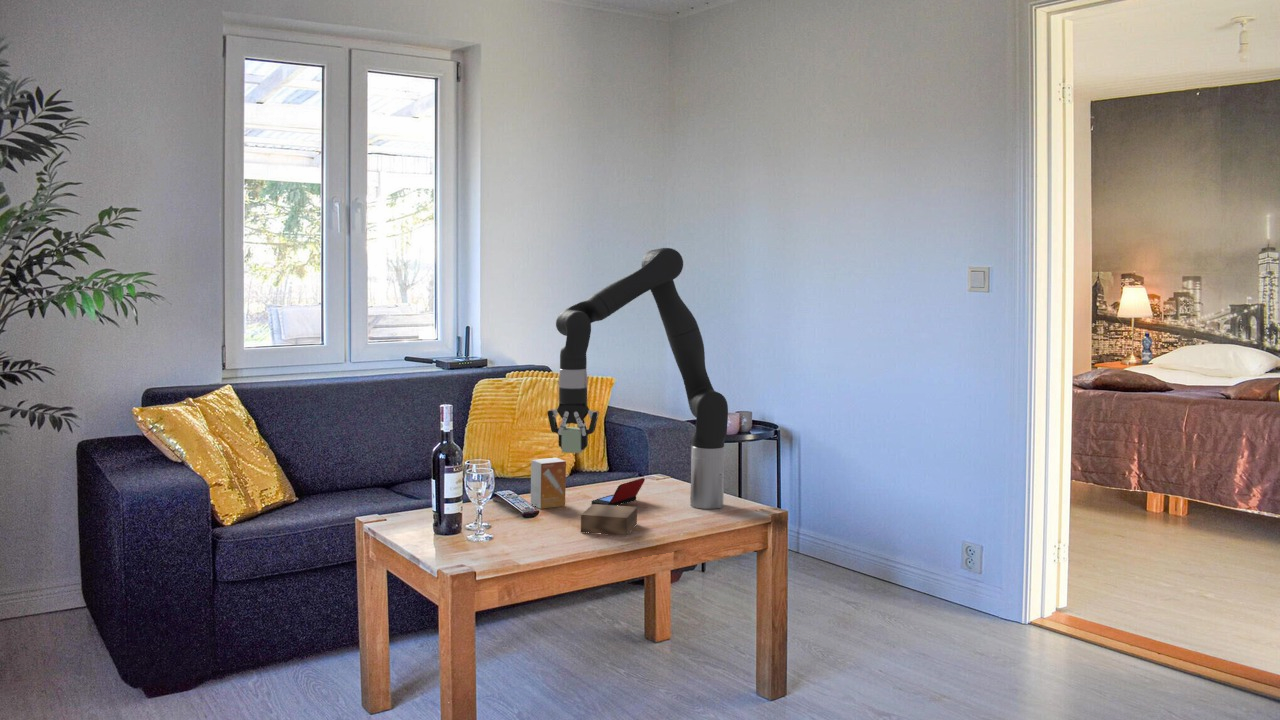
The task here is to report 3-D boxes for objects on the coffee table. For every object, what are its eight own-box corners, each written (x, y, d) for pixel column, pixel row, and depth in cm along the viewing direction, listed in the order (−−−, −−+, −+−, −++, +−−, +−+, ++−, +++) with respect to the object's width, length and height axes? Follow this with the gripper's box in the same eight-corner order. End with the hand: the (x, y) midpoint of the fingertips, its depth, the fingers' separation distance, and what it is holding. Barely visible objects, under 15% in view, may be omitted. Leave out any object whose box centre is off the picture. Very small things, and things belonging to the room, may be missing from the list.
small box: (540, 509, 277) (540, 463, 276) (530, 504, 282) (530, 459, 281) (566, 506, 282) (566, 460, 280) (555, 501, 287) (555, 456, 286)
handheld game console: (616, 497, 295) (616, 472, 294) (645, 502, 288) (646, 477, 288) (589, 504, 285) (589, 479, 284) (619, 510, 278) (619, 484, 278)
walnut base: (636, 525, 263) (637, 506, 263) (626, 537, 251) (626, 517, 251) (592, 522, 266) (592, 504, 265) (580, 534, 254) (580, 514, 253)
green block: (584, 449, 268) (584, 427, 268) (580, 453, 263) (580, 430, 263) (566, 449, 269) (566, 427, 268) (561, 452, 264) (561, 430, 264)
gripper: (602, 384, 267) (602, 447, 269) (550, 383, 269) (550, 445, 271) (596, 388, 260) (596, 452, 261) (543, 386, 262) (543, 450, 264)
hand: (573, 448), depth 266 cm, fingers closed on green block, 5 cm apart
